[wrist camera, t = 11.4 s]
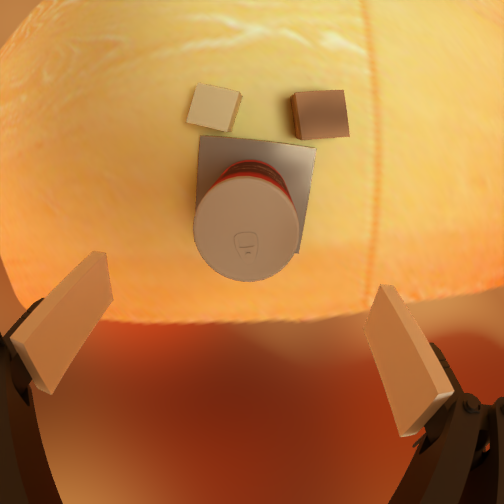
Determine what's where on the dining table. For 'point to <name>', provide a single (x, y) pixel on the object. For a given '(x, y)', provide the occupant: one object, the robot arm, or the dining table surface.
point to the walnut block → (320, 114)
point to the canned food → (247, 223)
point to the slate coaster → (273, 153)
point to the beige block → (214, 107)
